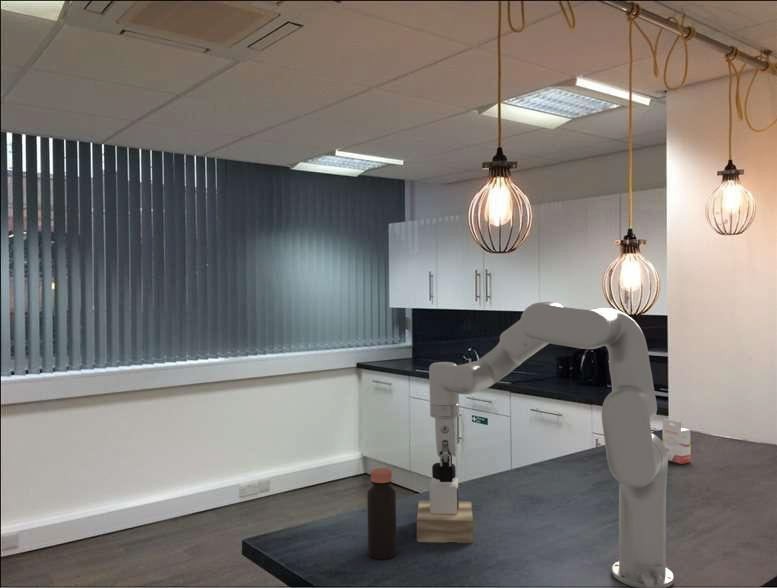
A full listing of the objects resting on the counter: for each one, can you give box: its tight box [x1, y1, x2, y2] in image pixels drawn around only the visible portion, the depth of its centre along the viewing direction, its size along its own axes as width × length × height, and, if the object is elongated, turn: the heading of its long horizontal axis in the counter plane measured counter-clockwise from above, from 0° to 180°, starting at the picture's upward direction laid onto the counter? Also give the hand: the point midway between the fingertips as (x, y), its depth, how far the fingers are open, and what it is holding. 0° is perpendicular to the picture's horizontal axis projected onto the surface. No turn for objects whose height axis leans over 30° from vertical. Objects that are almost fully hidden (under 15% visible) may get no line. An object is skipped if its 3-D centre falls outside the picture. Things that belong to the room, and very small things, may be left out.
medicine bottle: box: [429, 461, 460, 514], centre depth 168 cm, size 7×7×12 cm
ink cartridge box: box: [661, 418, 692, 465], centre depth 231 cm, size 9×5×15 cm, turn 25°
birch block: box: [416, 500, 474, 544], centre depth 168 cm, size 14×14×6 cm
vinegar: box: [366, 467, 397, 560], centre depth 155 cm, size 7×7×20 cm
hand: (446, 476), depth 168 cm, fingers open, 9 cm apart
